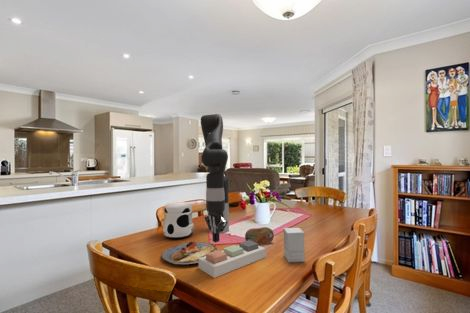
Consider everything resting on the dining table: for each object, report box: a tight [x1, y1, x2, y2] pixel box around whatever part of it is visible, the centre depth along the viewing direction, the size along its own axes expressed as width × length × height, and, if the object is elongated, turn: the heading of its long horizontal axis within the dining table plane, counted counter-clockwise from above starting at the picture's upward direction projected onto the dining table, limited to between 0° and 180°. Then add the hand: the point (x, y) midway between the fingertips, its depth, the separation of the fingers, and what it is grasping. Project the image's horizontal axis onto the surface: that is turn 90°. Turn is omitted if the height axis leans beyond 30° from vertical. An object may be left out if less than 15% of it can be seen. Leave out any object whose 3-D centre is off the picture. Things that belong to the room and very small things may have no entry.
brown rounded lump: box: [244, 226, 275, 246], centre depth 128 cm, size 15×3×8 cm, turn 105°
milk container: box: [162, 201, 195, 239], centre depth 144 cm, size 17×17×18 cm
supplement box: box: [283, 227, 306, 263], centre depth 109 cm, size 7×7×13 cm
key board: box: [198, 244, 267, 279], centre depth 107 cm, size 11×28×4 cm, turn 130°
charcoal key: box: [238, 240, 259, 252], centre depth 112 cm, size 6×6×3 cm
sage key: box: [223, 244, 243, 258], centre depth 107 cm, size 6×6×3 cm
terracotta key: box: [206, 249, 227, 264], centre depth 101 cm, size 6×6×3 cm
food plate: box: [161, 241, 218, 266], centre depth 115 cm, size 25×23×4 cm
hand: (216, 241), depth 101 cm, fingers closed
